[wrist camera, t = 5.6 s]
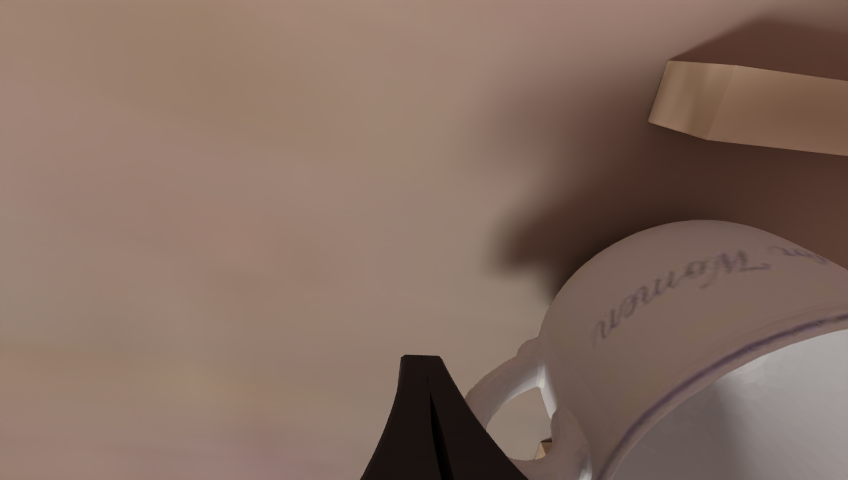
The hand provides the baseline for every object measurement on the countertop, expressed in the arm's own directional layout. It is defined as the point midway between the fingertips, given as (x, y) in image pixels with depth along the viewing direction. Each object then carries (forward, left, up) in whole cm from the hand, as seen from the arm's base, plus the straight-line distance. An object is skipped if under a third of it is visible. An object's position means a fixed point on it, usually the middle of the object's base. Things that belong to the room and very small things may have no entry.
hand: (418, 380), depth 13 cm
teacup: (0, -8, -5) cm, 9 cm away
